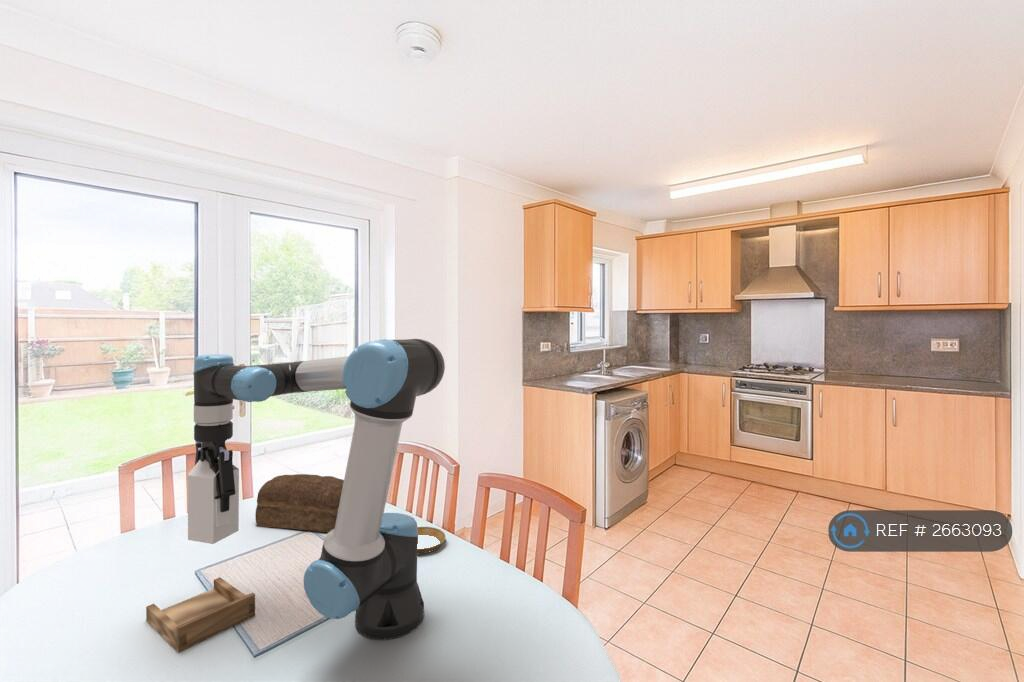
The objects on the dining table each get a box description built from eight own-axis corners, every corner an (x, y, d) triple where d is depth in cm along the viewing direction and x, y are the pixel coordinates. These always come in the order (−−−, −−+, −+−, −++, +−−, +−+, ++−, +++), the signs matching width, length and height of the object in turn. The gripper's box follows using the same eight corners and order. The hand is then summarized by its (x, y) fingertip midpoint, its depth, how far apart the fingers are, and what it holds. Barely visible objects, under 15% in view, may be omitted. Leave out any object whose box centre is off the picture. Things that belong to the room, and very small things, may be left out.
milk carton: (213, 544, 104) (213, 460, 104) (187, 540, 106) (187, 457, 105) (238, 531, 111) (239, 452, 111) (214, 527, 113) (214, 449, 112)
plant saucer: (453, 549, 140) (454, 540, 140) (406, 562, 131) (406, 553, 131) (432, 530, 152) (432, 522, 152) (388, 542, 144) (388, 533, 144)
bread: (340, 536, 146) (340, 486, 146) (249, 526, 152) (249, 478, 151) (362, 517, 161) (363, 471, 160) (278, 509, 166) (279, 465, 165)
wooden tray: (255, 615, 106) (255, 593, 106) (178, 652, 94) (178, 628, 94) (219, 589, 116) (219, 570, 116) (146, 620, 104) (146, 598, 103)
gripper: (253, 426, 104) (252, 526, 105) (211, 413, 117) (211, 502, 118) (216, 432, 98) (215, 538, 99) (176, 417, 111) (176, 511, 112)
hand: (213, 518), depth 108 cm, fingers closed on milk carton, 9 cm apart
